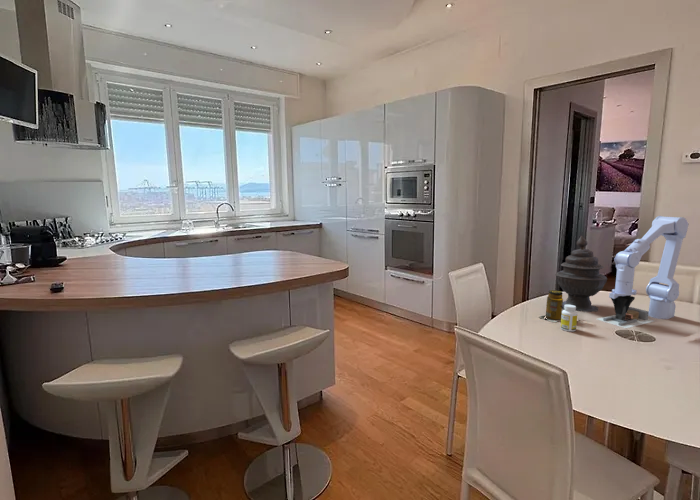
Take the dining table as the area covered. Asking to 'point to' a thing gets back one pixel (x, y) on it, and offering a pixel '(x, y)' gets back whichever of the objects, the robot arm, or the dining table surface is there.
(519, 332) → the dining table surface
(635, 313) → the nut
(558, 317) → the condiment
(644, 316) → the board
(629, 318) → the carriage
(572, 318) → the supplement bottle
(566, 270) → the decorative urn
